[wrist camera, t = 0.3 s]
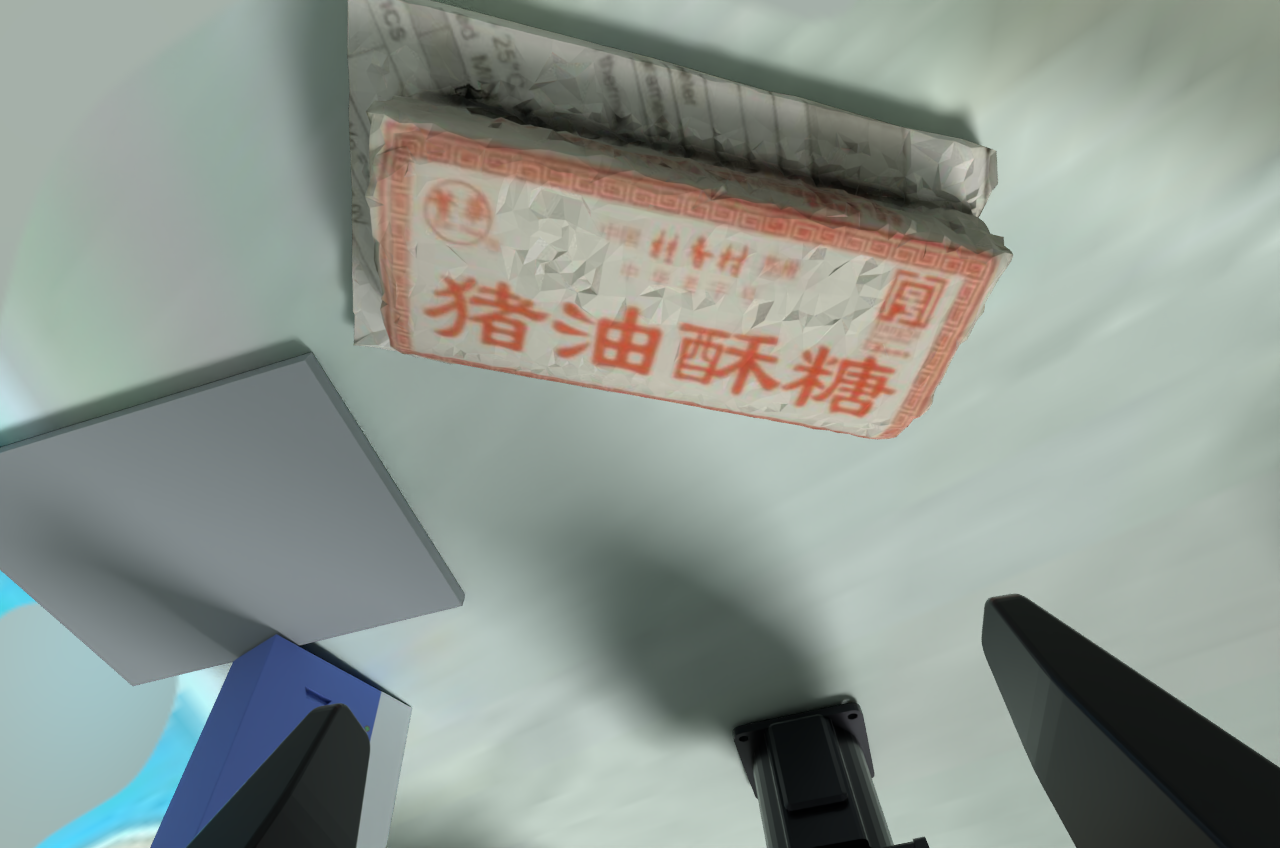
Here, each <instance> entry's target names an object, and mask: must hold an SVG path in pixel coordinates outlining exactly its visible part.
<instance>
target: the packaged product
mask: <svg viewBox="0 0 1280 848" xmlns="http://www.w3.org/2000/svg"><path fill="white" fill-rule="evenodd" d="M347 58H348V70H349V89H350V93H349V133H350V157H351V179H352V282H353V312H354V314H355V326H354V344H353V345H357V346H367V347H376V348H381V349H387V350H393V351H399V352H401V353H402V354H409V355H412V356H414V357H420V358H427V359H432V360H435V361H440V362H444V363H449V364H462V365H467V366H473V367H478V368H483V369H489V370H494V371H500V372H505V373H510V374H516V375H521V376H526V377H531V378H537V379H544V380H550V381H556V382H561V383H567V384H572V385H577V386H582V387H587V388H593V389H599V390H604V391H609V392H617V393H624V394H630V395H635V396H640V397H646V398H651V399H657V400H663V401H669V402H674V403H680V404H685V405H691V406H696V407H701V408H706V409H710V410H716V411H722V412H728V413H733V414H739V415H744V416H749V417H754V418H762V419H768V420H772V421H777V422H783V423H789V424H795V425H801V426H804V427H808V428H812V429H820V430H830V431H833V432H836V433H846V434H851V435H854V436H858V437H863V438H869V439H890V438H894V437H897V436H898V435H899V434H900V433H901V432H902V431H903V430H904V429H905V428H906V427H908V426H909V424H910V423H911V422H912V421H913V419H915V418H918V417H920V416H921V415H922V414H924V413H925V412H926V411H928V410H929V408H930V406H931V404H932V402H933V396H934V392H935V390H936V388H937V386H938V385H940V383H941V380H942V379H943V377H944V375H945V373H946V371H947V368H948V366H949V364H950V362H951V360H952V358H953V356H954V354H955V352H956V350H957V349H958V347H959V345H960V344H961V343H963V342H964V341H966V340H967V339H968V337H969V335H970V333H971V331H972V329H973V327H974V325H975V323H976V321H977V320H978V318H979V317H980V316H981V315H982V314H983V312H984V307H985V302H986V300H987V299H988V297H989V295H990V294H991V292H992V290H993V288H994V287H995V285H996V283H997V281H998V280H999V278H1000V276H1001V275H1002V273H1003V272H1004V271H1005V269H1006V268H1007V266H1008V265H1009V264H1010V262H1011V260H1012V257H1013V254H1012V252H1011V251H1010V250H1009V249H1008V248H1007V247H1005V246H1004V238H1003V237H1000V236H996V235H992V234H990V232H989V230H988V228H987V226H986V224H985V223H984V222H983V221H982V220H980V219H979V216H980V214H981V212H982V210H983V208H984V206H985V204H986V202H987V200H988V198H989V196H990V194H991V192H992V190H993V189H994V188H995V187H996V186H997V184H998V176H997V155H996V151H995V150H992V149H990V148H987V147H984V146H981V145H978V144H975V143H972V142H970V141H967V140H964V139H960V138H955V137H950V136H945V135H940V134H935V133H930V132H925V131H920V130H915V129H910V128H905V127H900V126H896V125H893V124H890V123H886V122H883V121H879V120H876V119H872V118H869V117H866V116H862V115H859V114H855V113H852V112H849V111H845V110H842V109H838V108H835V107H831V106H828V105H825V104H821V103H818V102H814V101H811V100H808V99H804V98H801V97H797V96H792V95H787V94H781V93H775V92H770V91H766V90H763V89H759V88H756V87H752V86H749V85H745V84H742V83H738V82H734V81H731V80H727V79H724V78H720V77H717V76H713V75H710V74H706V73H703V72H700V71H696V70H693V69H690V68H686V67H683V66H680V65H676V64H673V63H669V62H665V61H662V60H658V59H655V58H651V57H647V56H643V55H639V54H635V53H631V52H627V51H623V50H619V49H616V48H612V47H606V46H603V45H599V44H595V43H592V42H588V41H585V40H581V39H577V38H573V37H569V36H566V35H562V34H558V33H554V32H550V31H546V30H543V29H539V28H535V27H531V26H527V25H524V24H520V23H516V22H512V21H508V20H504V19H501V18H497V17H493V16H489V15H485V14H481V13H478V12H474V11H470V10H466V9H462V8H459V7H455V6H451V5H447V4H443V3H439V2H436V1H432V0H348V52H347Z"/></svg>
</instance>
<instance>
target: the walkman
mask: <svg viewBox="0 0 1280 848" xmlns="http://www.w3.org/2000/svg"><path fill="white" fill-rule="evenodd" d="M337 703H343V704H345V705H347V706H348V707H349V708H350V710H351V711H352V713H353V714H354V716H355V717H356V718H357V720H358V721H359V723H360V724H361V726H362V727H363V728H364V730H365V731H366V733H367V734H368V737H369V740H370V758H369V765H368V771H367V778H366V785H365V792H364V799H363V806H362V813H361V820H360V827H359V834H358V841H357V847H356V848H386V847H387V842H388V836H389V831H390V825H391V820H392V815H393V809H394V804H395V798H396V793H397V788H398V782H399V777H400V771H401V766H402V761H403V755H404V750H405V744H406V739H407V733H408V728H409V723H410V717H411V712H412V708H411V707H409V706H407V705H406V704H404V703H402V702H400V701H398V700H397V699H395V698H393V697H391V696H389V695H388V694H386V693H384V692H382V691H379V690H378V689H376V688H374V687H372V686H370V685H368V684H367V683H365V682H363V681H361V680H359V679H357V678H356V677H354V676H352V675H350V674H348V673H346V672H345V671H343V670H341V669H339V668H337V667H335V666H334V665H332V664H330V663H328V662H326V661H324V660H323V659H321V658H319V657H317V656H315V655H314V654H312V653H310V652H308V651H306V650H304V649H303V648H301V647H299V646H297V645H295V644H293V643H292V642H290V641H288V640H286V639H284V638H282V637H281V636H279V635H277V634H276V635H274V636H273V637H271V638H269V639H268V640H266V641H265V642H263V643H261V644H260V645H258V646H257V647H255V648H253V649H252V650H250V651H248V652H247V653H245V654H244V655H242V656H240V657H239V658H237V659H236V660H234V661H233V664H232V666H231V668H230V670H229V672H228V675H227V677H226V679H225V681H224V684H223V686H222V688H221V690H220V693H219V695H218V697H217V699H216V702H215V704H214V706H213V708H212V711H211V713H210V715H209V717H208V719H207V722H206V724H205V726H204V728H203V731H202V733H201V735H200V737H199V740H198V742H197V744H196V746H195V749H194V751H193V753H192V755H191V758H190V760H189V762H188V764H187V767H186V769H185V771H184V773H183V775H182V778H181V780H180V782H179V784H178V787H177V789H176V791H175V793H174V796H173V798H172V800H171V802H170V805H169V807H168V809H167V811H166V814H165V816H164V818H163V820H162V822H161V825H160V827H159V829H158V831H157V834H156V836H155V838H154V840H153V843H152V845H151V847H150V848H186V847H187V845H188V844H189V843H190V842H191V841H192V840H193V839H194V838H195V837H196V836H197V835H198V833H199V832H200V831H201V830H202V829H203V828H204V827H205V826H206V825H207V824H208V823H209V821H210V820H211V819H212V818H213V817H214V816H215V815H216V814H217V813H218V812H219V810H220V809H221V808H222V807H223V806H224V805H225V804H226V803H227V802H228V801H229V800H230V798H231V797H232V796H233V795H234V794H235V793H236V792H237V791H238V790H239V789H240V788H241V786H242V785H243V784H244V783H245V782H246V781H247V780H248V779H249V778H250V777H251V776H252V774H253V773H254V772H255V771H256V770H257V769H258V768H259V767H260V766H261V765H262V764H263V762H264V761H265V760H266V759H267V758H268V757H269V756H270V755H271V754H272V753H273V752H274V750H275V749H276V748H277V747H278V746H279V745H280V744H281V743H282V742H283V741H284V740H285V738H286V737H287V736H288V735H289V734H290V733H291V732H292V731H293V730H294V729H295V728H296V726H297V725H298V724H299V723H300V722H301V721H302V720H303V719H304V718H305V717H306V716H307V714H308V713H310V712H311V711H312V710H313V709H315V708H317V707H319V706H324V705H330V704H337Z"/></svg>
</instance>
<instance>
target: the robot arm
mask: <svg viewBox="0 0 1280 848" xmlns="http://www.w3.org/2000/svg"><path fill="white" fill-rule="evenodd" d="M982 647H983V651H984V654H985V657H986V659H987V661H988V664H989V666H990V669H991V671H992V673H993V676H994V678H995V680H996V683H997V685H998V687H999V690H1000V692H1001V694H1002V697H1003V699H1004V702H1005V704H1006V706H1007V709H1008V711H1009V713H1010V716H1011V718H1012V720H1013V723H1014V725H1015V727H1016V730H1017V732H1018V734H1019V737H1020V739H1021V742H1022V744H1023V746H1024V749H1025V751H1026V753H1027V755H1028V758H1029V760H1030V762H1031V764H1032V766H1033V769H1034V771H1035V773H1036V774H1037V776H1038V778H1039V780H1040V782H1041V784H1042V786H1043V788H1044V790H1045V791H1046V793H1047V795H1048V797H1049V799H1050V801H1051V802H1052V804H1053V806H1054V808H1055V810H1056V811H1057V813H1058V815H1059V817H1060V819H1061V820H1062V822H1063V824H1064V826H1065V828H1066V829H1067V831H1068V833H1069V835H1070V837H1071V838H1072V840H1073V842H1074V844H1075V846H1076V848H1280V768H1279V767H1278V766H1277V765H1275V764H1274V763H1272V762H1271V761H1269V760H1268V759H1266V758H1265V757H1263V756H1262V755H1260V754H1259V753H1257V752H1256V751H1254V750H1253V749H1251V748H1250V747H1248V746H1247V745H1245V744H1244V743H1242V742H1241V741H1239V740H1238V739H1236V738H1235V737H1233V736H1232V735H1230V734H1229V733H1227V732H1226V731H1224V730H1223V729H1221V728H1220V727H1218V726H1217V725H1215V724H1214V723H1212V722H1211V721H1209V720H1208V719H1206V718H1205V717H1203V716H1202V715H1200V714H1199V713H1198V712H1196V711H1195V710H1193V709H1192V708H1190V707H1189V706H1187V705H1186V704H1184V703H1183V702H1181V701H1180V700H1178V699H1177V698H1175V697H1174V696H1172V695H1171V694H1169V693H1168V692H1166V691H1165V690H1163V689H1162V688H1160V687H1159V686H1157V685H1156V684H1154V683H1153V682H1151V681H1150V680H1148V679H1147V678H1145V677H1144V676H1142V675H1141V674H1139V673H1138V672H1136V671H1135V670H1133V669H1132V668H1130V667H1129V666H1127V665H1126V664H1124V663H1123V662H1122V661H1120V660H1119V659H1117V658H1116V657H1114V656H1113V655H1111V654H1110V653H1108V652H1107V651H1105V650H1104V649H1102V648H1101V647H1099V646H1098V645H1096V644H1095V643H1093V642H1092V641H1090V640H1089V639H1087V638H1086V637H1084V636H1083V635H1081V634H1080V633H1078V632H1077V631H1075V630H1074V629H1072V628H1071V627H1069V626H1068V625H1066V624H1065V623H1063V622H1062V621H1060V620H1059V619H1057V618H1056V617H1054V616H1053V615H1051V614H1050V613H1048V612H1047V611H1046V610H1044V609H1043V608H1041V607H1040V606H1038V605H1037V604H1035V603H1034V602H1032V601H1031V600H1029V599H1028V598H1026V597H1024V596H1022V595H1019V594H1009V595H1002V596H996V597H991V598H989V599H988V600H987V601H986V603H985V607H984V617H983V627H982ZM733 737H734V742H735V744H736V747H737V750H738V752H739V755H740V757H741V760H742V763H743V765H744V768H745V771H746V773H747V776H748V778H749V781H750V784H751V786H752V789H753V791H754V794H755V797H756V798H757V799H758V801H759V806H760V812H761V817H762V823H763V828H764V834H765V839H766V845H767V848H929V846H928V843H927V841H926V838H925V837H920V838H915V839H913V842H908V843H903V844H898V845H894V844H893V841H892V838H891V835H890V832H889V829H888V826H887V823H886V820H885V817H884V814H883V811H882V808H881V805H880V802H879V799H878V796H877V793H876V790H875V787H874V784H873V781H872V778H873V777H874V769H873V764H872V759H871V754H870V749H869V744H868V738H867V733H866V728H865V723H864V718H863V714H862V711H861V708H860V706H859V705H858V704H856V703H848V704H843V705H839V706H834V707H829V708H824V709H819V710H814V711H810V712H805V713H800V714H795V715H790V716H786V717H781V718H776V719H771V720H766V721H761V722H757V723H752V724H747V725H742V726H739V727H736V728H735V729H734V730H733ZM369 758H370V740H369V737H368V734H367V733H366V731H365V730H364V728H363V727H362V726H361V724H360V723H359V721H358V720H357V718H356V717H355V716H354V714H353V713H352V711H351V710H350V708H349V707H348V706H347V705H345V704H343V703H337V704H330V705H324V706H319V707H317V708H315V709H313V710H312V711H311V712H310V713H308V714H307V716H306V717H305V718H304V719H303V720H302V721H301V722H300V723H299V724H298V725H297V726H296V728H295V729H294V730H293V731H292V732H291V733H290V734H289V735H288V736H287V737H286V738H285V740H284V741H283V742H282V743H281V744H280V745H279V746H278V747H277V748H276V749H275V750H274V752H273V753H272V754H271V755H270V756H269V757H268V758H267V759H266V760H265V761H264V762H263V764H262V765H261V766H260V767H259V768H258V769H257V770H256V771H255V772H254V773H253V774H252V776H251V777H250V778H249V779H248V780H247V781H246V782H245V783H244V784H243V785H242V786H241V788H240V789H239V790H238V791H237V792H236V793H235V794H234V795H233V796H232V797H231V798H230V800H229V801H228V802H227V803H226V804H225V805H224V806H223V807H222V808H221V809H220V810H219V812H218V813H217V814H216V815H215V816H214V817H213V818H212V819H211V820H210V821H209V823H208V824H207V825H206V826H205V827H204V828H203V829H202V830H201V831H200V832H199V833H198V835H197V836H196V837H195V838H194V839H193V840H192V841H191V842H190V843H189V844H188V845H187V847H186V848H356V847H357V841H358V834H359V827H360V820H361V813H362V806H363V799H364V792H365V785H366V778H367V771H368V765H369Z"/></svg>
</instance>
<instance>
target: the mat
mask: <svg viewBox="0 0 1280 848" xmlns="http://www.w3.org/2000/svg"><path fill="white" fill-rule="evenodd" d="M0 570H1V571H2V572H3V573H5V574H6V575H7V576H8V577H9V578H10V579H11V580H13V581H14V582H15V583H16V584H17V585H18V586H19V587H20V588H22V589H23V590H24V591H25V592H26V593H27V594H28V595H30V596H31V597H32V598H33V599H34V600H35V601H36V602H38V603H39V604H40V605H41V606H42V607H43V608H45V610H47V611H48V612H49V613H50V614H51V615H52V616H53V617H55V618H56V619H57V620H58V621H59V622H60V623H62V624H63V625H64V626H65V627H66V628H67V629H68V630H69V631H71V632H72V633H73V634H74V635H75V636H76V637H77V638H79V639H80V640H81V641H82V642H83V643H84V644H85V645H87V646H88V647H89V648H90V649H91V650H92V651H93V652H95V653H96V654H97V655H98V656H99V657H100V658H101V659H102V660H104V661H105V662H106V663H107V664H108V665H109V666H110V667H112V668H113V669H114V670H115V671H116V672H117V673H118V674H119V675H121V676H122V677H123V678H124V679H125V680H126V681H127V682H129V683H130V684H131V685H132V686H136V685H140V684H144V683H147V682H152V681H156V680H160V679H164V678H168V677H172V676H177V675H181V674H185V673H189V672H193V671H197V670H201V669H205V668H209V667H213V666H218V665H222V664H226V663H230V662H233V661H234V660H236V659H237V658H239V657H240V656H242V655H244V654H245V653H247V652H248V651H250V650H252V649H253V648H255V647H257V646H258V645H260V644H261V643H263V642H265V641H266V640H268V639H269V638H271V637H273V636H274V635H276V634H277V635H279V636H281V637H282V638H284V639H286V640H288V641H290V642H292V643H293V644H295V645H297V646H299V645H304V644H308V643H312V642H316V641H320V640H324V639H328V638H332V637H336V636H340V635H345V634H349V633H353V632H357V631H361V630H365V629H369V628H373V627H377V626H381V625H385V624H390V623H394V622H398V621H402V620H406V619H410V618H414V617H418V616H422V615H426V614H431V613H435V612H439V611H443V610H447V609H451V608H455V607H459V606H462V605H463V601H464V597H465V594H464V593H463V591H462V589H461V588H460V586H459V585H458V583H457V581H456V580H455V578H454V577H453V575H452V573H451V572H450V570H449V569H448V567H447V566H446V564H445V562H444V561H443V559H442V558H441V556H440V554H439V553H438V551H437V550H436V548H435V547H434V545H433V543H432V542H431V540H430V539H429V537H428V535H427V534H426V532H425V531H424V529H423V527H422V526H421V524H420V523H419V521H418V520H417V518H416V516H415V515H414V513H413V512H412V510H411V508H410V507H409V505H408V504H407V502H406V501H405V499H404V497H403V496H402V494H401V493H400V491H399V489H398V488H397V486H396V485H395V483H394V481H393V480H392V478H391V477H390V475H389V474H388V472H387V470H386V469H385V467H384V466H383V464H382V462H381V461H380V459H379V458H378V456H377V455H376V453H375V451H374V450H373V448H372V447H371V445H370V443H369V442H368V440H367V439H366V437H365V435H364V434H363V432H362V431H361V429H360V428H359V426H358V424H357V423H356V421H355V420H354V418H353V416H352V415H351V413H350V412H349V410H348V409H347V407H346V405H345V404H344V402H343V401H342V399H341V397H340V396H339V394H338V393H337V391H336V390H335V388H334V386H333V385H332V383H331V382H330V380H329V378H328V377H327V375H326V374H325V372H324V370H323V369H322V367H321V366H320V364H319V363H318V361H317V359H316V358H315V356H314V355H313V353H312V352H310V353H307V354H304V355H301V356H297V357H294V358H291V359H287V360H284V361H281V362H278V363H274V364H271V365H268V366H265V367H261V368H258V369H255V370H251V371H248V372H245V373H242V374H238V375H235V376H232V377H229V378H225V379H222V380H219V381H215V382H212V383H209V384H206V385H202V386H199V387H196V388H193V389H189V390H186V391H183V392H179V393H176V394H173V395H170V396H166V397H163V398H160V399H157V400H153V401H150V402H147V403H144V404H140V405H137V406H134V407H130V408H127V409H124V410H121V411H117V412H114V413H111V414H108V415H104V416H101V417H98V418H94V419H91V420H88V421H85V422H81V423H78V424H75V425H72V426H68V427H65V428H62V429H58V430H55V431H52V432H49V433H45V434H42V435H39V436H36V437H32V438H29V439H26V440H23V441H19V442H16V443H13V444H9V445H6V446H3V447H0Z"/></svg>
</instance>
